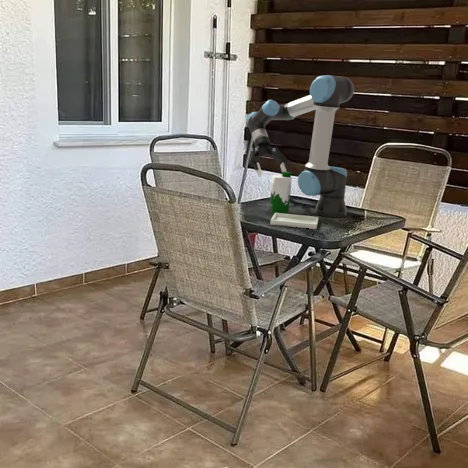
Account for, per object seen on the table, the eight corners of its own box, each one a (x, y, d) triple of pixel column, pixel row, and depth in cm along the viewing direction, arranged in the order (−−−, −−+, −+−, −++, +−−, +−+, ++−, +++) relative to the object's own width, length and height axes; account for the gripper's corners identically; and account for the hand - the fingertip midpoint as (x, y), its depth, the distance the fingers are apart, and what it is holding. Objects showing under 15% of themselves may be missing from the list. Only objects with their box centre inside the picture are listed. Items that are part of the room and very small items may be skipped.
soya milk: (289, 216, 286) (293, 173, 281) (270, 215, 286) (273, 173, 281) (286, 212, 295) (290, 171, 290) (268, 211, 294) (271, 170, 289)
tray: (318, 221, 279) (318, 216, 278) (316, 229, 263) (316, 224, 263) (274, 217, 282) (275, 212, 281) (270, 224, 266) (270, 220, 266)
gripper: (280, 145, 310) (292, 179, 301) (235, 144, 300) (247, 180, 291) (286, 135, 304) (299, 170, 295) (241, 134, 294) (252, 170, 285)
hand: (273, 175), depth 293 cm, fingers open, 13 cm apart
